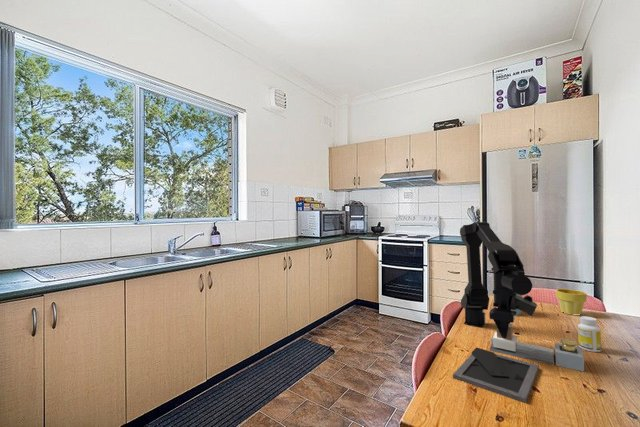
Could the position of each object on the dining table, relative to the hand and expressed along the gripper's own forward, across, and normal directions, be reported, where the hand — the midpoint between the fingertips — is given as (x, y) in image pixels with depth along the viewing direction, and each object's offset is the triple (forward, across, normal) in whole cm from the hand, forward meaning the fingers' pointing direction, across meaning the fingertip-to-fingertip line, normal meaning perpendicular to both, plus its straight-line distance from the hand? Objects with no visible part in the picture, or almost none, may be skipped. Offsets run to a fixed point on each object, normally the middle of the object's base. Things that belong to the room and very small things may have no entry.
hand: (504, 335), depth 96 cm
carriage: (+4, 0, 0) cm, 4 cm away
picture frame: (+5, -19, 0) cm, 20 cm away
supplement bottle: (+4, +16, -22) cm, 27 cm away
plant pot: (+4, +59, -20) cm, 62 cm away
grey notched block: (+4, 0, -16) cm, 16 cm away
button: (+2, 0, -16) cm, 16 cm away
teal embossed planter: (+4, +45, +2) cm, 45 cm away
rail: (+4, 0, -4) cm, 6 cm away
